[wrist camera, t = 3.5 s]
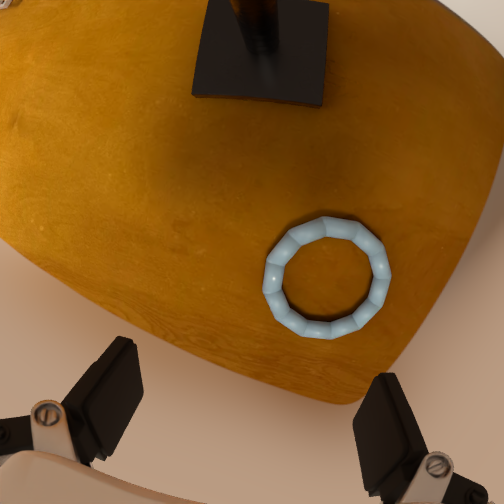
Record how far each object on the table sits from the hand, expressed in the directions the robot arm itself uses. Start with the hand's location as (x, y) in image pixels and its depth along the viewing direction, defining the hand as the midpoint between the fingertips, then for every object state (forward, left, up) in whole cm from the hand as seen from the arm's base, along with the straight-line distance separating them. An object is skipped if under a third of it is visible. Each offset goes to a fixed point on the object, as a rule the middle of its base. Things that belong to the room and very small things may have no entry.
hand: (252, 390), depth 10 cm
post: (+2, -17, -13) cm, 21 cm away
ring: (-5, 0, -12) cm, 13 cm away
